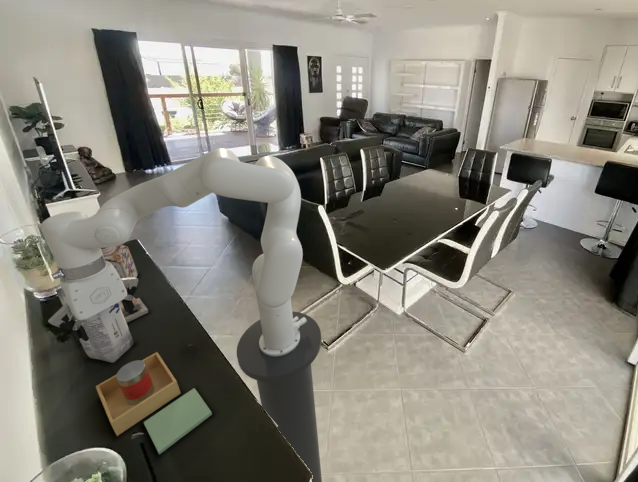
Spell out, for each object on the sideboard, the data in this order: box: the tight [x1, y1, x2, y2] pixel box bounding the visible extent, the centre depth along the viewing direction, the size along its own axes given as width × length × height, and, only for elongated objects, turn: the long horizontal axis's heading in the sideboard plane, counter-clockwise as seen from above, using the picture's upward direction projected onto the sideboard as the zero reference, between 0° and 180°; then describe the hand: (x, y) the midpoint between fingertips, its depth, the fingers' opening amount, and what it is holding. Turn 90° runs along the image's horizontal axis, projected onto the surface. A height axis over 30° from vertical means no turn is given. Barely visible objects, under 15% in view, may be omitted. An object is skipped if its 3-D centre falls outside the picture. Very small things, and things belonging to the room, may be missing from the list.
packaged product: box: [118, 296, 149, 324], centre depth 109 cm, size 18×5×10 cm
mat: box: [143, 387, 213, 455], centre depth 80 cm, size 12×10×1 cm
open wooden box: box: [95, 351, 181, 437], centre depth 84 cm, size 14×14×5 cm
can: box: [115, 359, 154, 405], centre depth 83 cm, size 6×6×9 cm
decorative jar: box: [101, 244, 139, 290], centre depth 123 cm, size 12×12×18 cm
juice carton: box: [55, 287, 134, 363], centre depth 93 cm, size 9×10×27 cm
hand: (108, 324), depth 78 cm, fingers open, 9 cm apart
